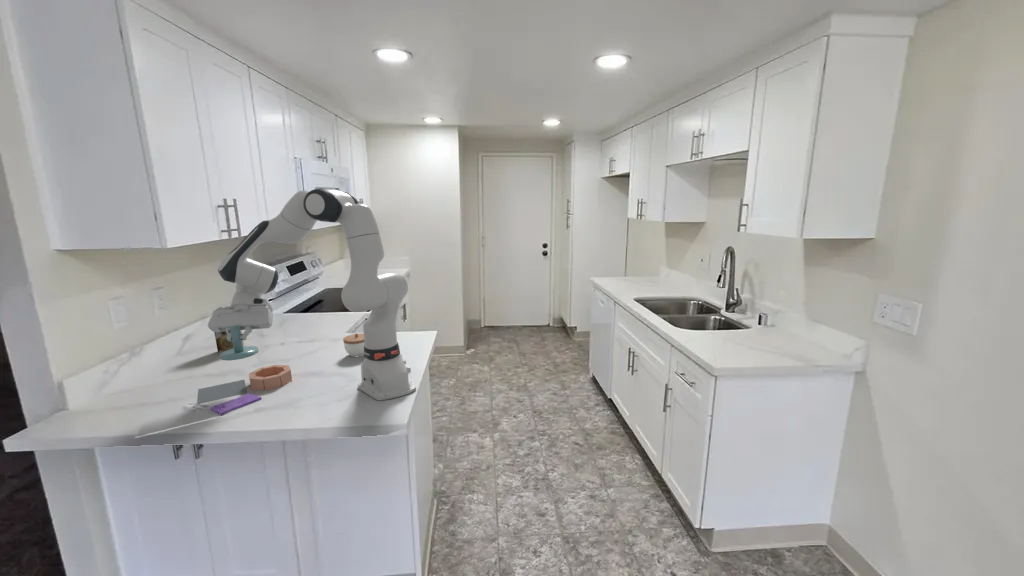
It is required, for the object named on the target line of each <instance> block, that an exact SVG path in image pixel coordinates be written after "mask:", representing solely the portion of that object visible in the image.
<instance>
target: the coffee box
mask: <svg viewBox="0 0 1024 576" xmlns="http://www.w3.org/2000/svg"><path fill="white" fill-rule="evenodd" d="M242 331H243V330H240V332H241V334H243V333H242ZM213 334H214V337H215V343H216V345H215V346H216V351H217V354H218V355H220V354H221V353H222V352H224V351H227V350H230V349H234V347H233V342H232V341H228V340H227V333H226V331H221V332H213ZM242 343H243V347H245V343H244V340H242Z"/></svg>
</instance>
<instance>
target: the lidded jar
mask: <svg viewBox="0 0 1024 576" xmlns="http://www.w3.org/2000/svg"><path fill="white" fill-rule="evenodd" d="M342 341H343V346H344V349H345V352H346V353H347V354H348V356H349V355H350V357H352V356H354V357H353V358H357V357H356V356H361V357H363V356H362V355H364V346H365V342H364V333H354V334H350V335H347V336H345V337H344V338H343V339H342Z"/></svg>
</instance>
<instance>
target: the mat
mask: <svg viewBox="0 0 1024 576" xmlns="http://www.w3.org/2000/svg"><path fill="white" fill-rule="evenodd" d="M247 392H248V391H247V387H246V381H245V379H240V380H235V381H231V382H226V383H222V384H215V385H212V386H207V387H201V388H198V391H197V401H196V402H197V405H201V404H204V403H209V402H213V401H218V400H222V399H226V398H230V397H235V396H239V395H243V394H244V395H245V394H248V393H247Z"/></svg>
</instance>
